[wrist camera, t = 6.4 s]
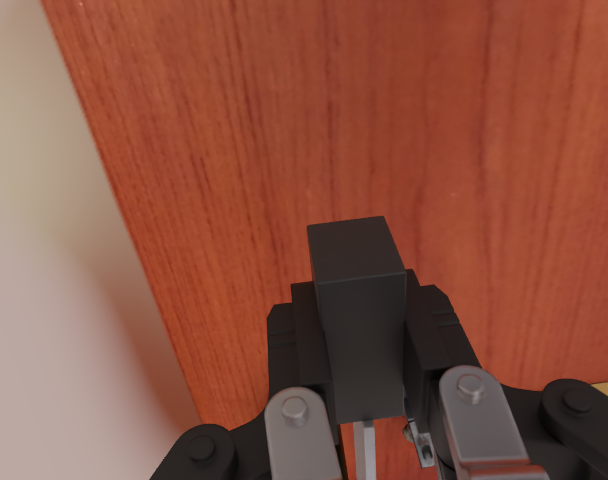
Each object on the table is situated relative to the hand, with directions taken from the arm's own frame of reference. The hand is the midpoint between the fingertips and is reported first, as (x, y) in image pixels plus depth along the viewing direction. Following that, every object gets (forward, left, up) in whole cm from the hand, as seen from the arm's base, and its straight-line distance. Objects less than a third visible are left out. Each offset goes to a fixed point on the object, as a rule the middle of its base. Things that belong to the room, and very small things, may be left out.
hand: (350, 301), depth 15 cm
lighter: (+17, +18, -16) cm, 29 cm away
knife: (+4, +3, 0) cm, 4 cm away
